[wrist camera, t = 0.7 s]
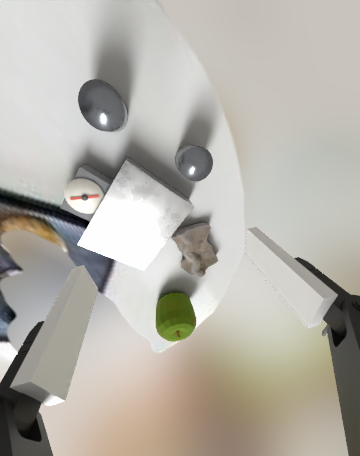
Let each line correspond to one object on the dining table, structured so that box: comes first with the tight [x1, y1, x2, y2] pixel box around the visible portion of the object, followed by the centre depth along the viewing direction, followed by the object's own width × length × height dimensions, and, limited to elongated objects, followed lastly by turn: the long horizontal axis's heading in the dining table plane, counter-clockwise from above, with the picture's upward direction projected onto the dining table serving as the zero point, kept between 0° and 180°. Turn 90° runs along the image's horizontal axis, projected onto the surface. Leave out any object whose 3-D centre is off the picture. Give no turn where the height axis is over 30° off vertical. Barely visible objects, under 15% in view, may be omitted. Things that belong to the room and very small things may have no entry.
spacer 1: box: [78, 79, 128, 132], centre depth 22 cm, size 5×5×6 cm
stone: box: [171, 223, 218, 277], centre depth 39 cm, size 15×10×4 cm, turn 17°
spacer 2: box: [175, 145, 213, 181], centre depth 27 cm, size 5×5×6 cm
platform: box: [78, 160, 194, 270], centre depth 30 cm, size 14×18×1 cm
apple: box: [156, 293, 196, 341], centre depth 45 cm, size 11×11×11 cm
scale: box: [60, 157, 192, 222], centre depth 31 cm, size 20×18×4 cm
